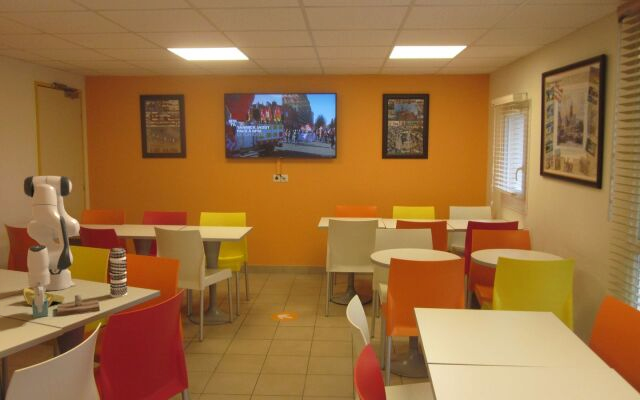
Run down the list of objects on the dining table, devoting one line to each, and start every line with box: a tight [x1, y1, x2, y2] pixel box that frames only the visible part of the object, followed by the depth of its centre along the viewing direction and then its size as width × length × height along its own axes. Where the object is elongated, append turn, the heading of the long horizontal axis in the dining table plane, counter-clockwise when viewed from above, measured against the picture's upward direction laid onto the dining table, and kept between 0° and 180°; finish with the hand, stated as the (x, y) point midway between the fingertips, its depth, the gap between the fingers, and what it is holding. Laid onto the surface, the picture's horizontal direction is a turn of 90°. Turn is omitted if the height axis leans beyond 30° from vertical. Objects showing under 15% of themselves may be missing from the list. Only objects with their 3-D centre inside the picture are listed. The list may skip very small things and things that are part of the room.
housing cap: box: [31, 298, 49, 319], centre depth 234 cm, size 6×6×7 cm
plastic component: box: [22, 287, 65, 308], centre depth 253 cm, size 20×7×10 cm
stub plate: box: [56, 294, 100, 317], centre depth 243 cm, size 13×18×7 cm
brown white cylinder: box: [108, 247, 128, 298], centre depth 267 cm, size 9×9×25 cm
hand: (40, 309), depth 234 cm, fingers closed on housing cap, 6 cm apart
